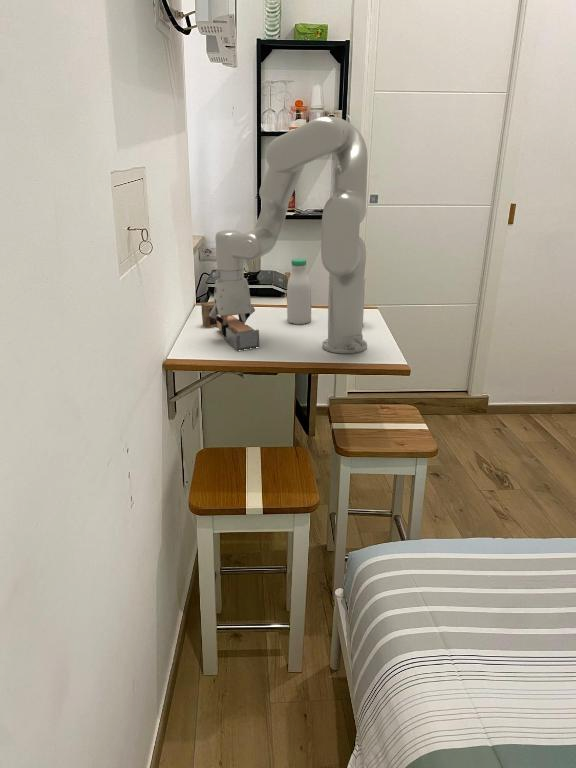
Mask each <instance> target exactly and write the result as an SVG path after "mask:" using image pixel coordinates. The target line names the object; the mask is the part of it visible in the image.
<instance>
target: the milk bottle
mask: <svg viewBox="0 0 576 768" xmlns="http://www.w3.org/2000/svg"><path fill="white" fill-rule="evenodd" d="M306 267H307V259H305V258H293V259H291V269H292V270H291V273H290V276H289V278H288V280H287V287H286V307H287V308H286V310H287V311H286V313H287V314H286V315H287V316H286V317H287V322H288V323H289V322H290V323H289V324H292V323H293V325H306V324H309V323H310V322H311V321H312V285H311V281H310V278H309V276H308V273H307V270H306ZM305 323H306V324H305Z"/></svg>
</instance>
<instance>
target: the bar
mask: <svg viewBox="0 0 576 768" xmlns="http://www.w3.org/2000/svg"><path fill="white" fill-rule="evenodd" d="M216 315H217V316H219V317H220V315H219V314H216ZM216 322H217V327H216V328H218V329H219V330H220V331H221V332H222V327H221V323H220V322H219V321H217V320H216ZM227 325H228V328H230V329H231V330H233V331H234V332H235V333H239V332H246V331H253V329H254V328H253V329H251V328H252V327H251V326H250V327H251V328H250V327H248V326H249V325H248V324H246V323H245V324H244V323H243V322H241V321H240V320H239V318H237V317H236V316H235V315H231V316H228V317H227ZM247 325H248V326H247Z"/></svg>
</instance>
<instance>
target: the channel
mask: <svg viewBox="0 0 576 768" xmlns="http://www.w3.org/2000/svg"><path fill="white" fill-rule="evenodd" d="M246 325H247V326H248V327H250V328H251V329H253V331H246V332H239V333H235V332H234V331H233V330H231V329H230V328H226V343H227V344H228V345H229V346H230V347H232V348H233V349H234V348H235V349H234V350H235V351H237V352H240V351H239V350H243V351H245V350H244V349H249V350H251V349H250V348H255V349H257V348H256V347H260V330H259V329H254V328H253V327H252V326H250V325H248V324H246Z"/></svg>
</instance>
